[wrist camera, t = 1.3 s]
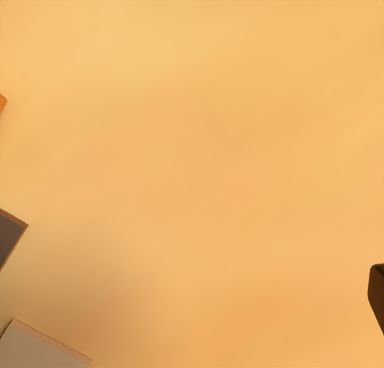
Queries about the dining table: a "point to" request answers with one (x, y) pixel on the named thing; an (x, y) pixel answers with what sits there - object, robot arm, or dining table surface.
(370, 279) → the robot arm
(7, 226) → the block
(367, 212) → the dining table surface
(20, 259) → the dining table surface
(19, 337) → the mat
